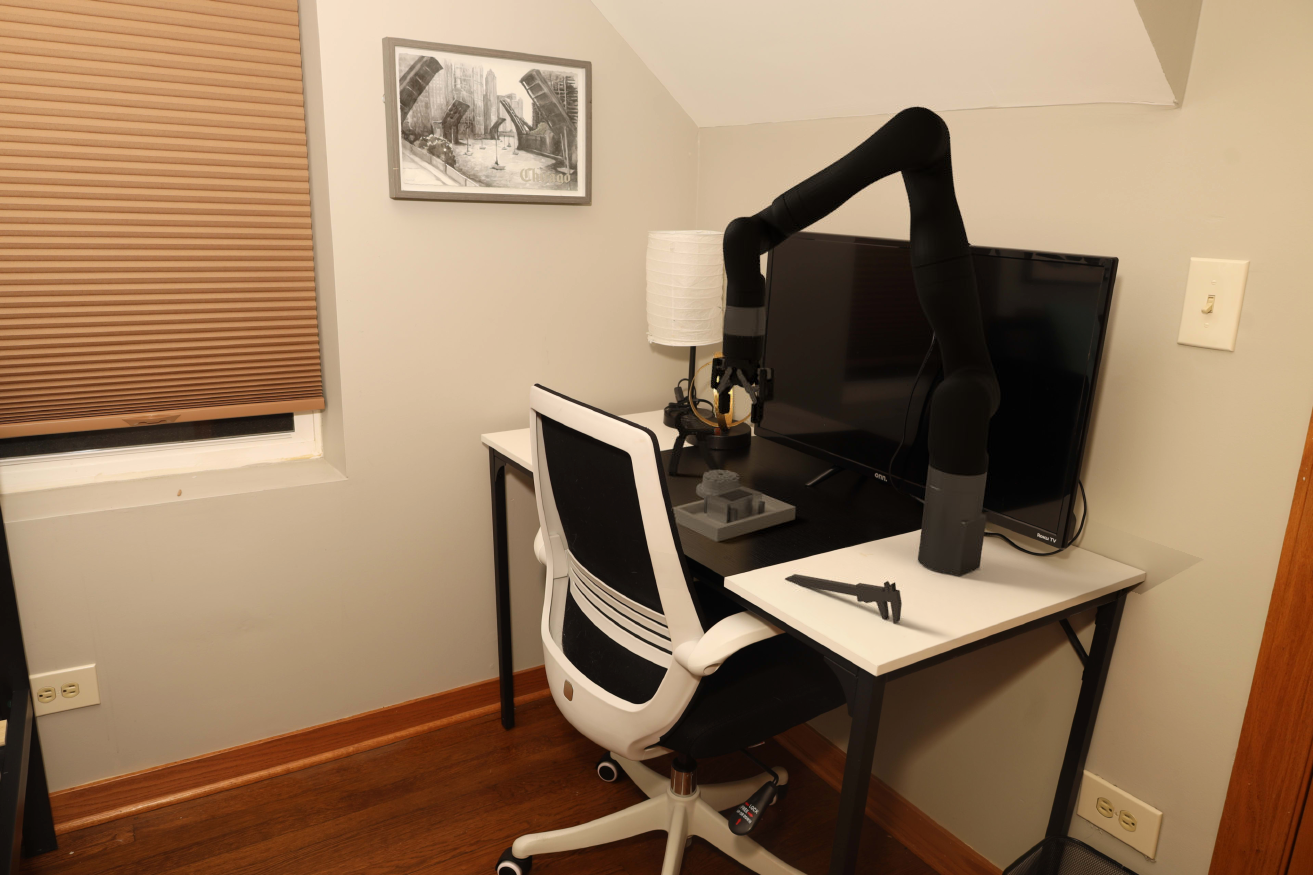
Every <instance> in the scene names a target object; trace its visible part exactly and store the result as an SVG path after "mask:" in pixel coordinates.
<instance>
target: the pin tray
mask: <svg viewBox="0 0 1313 875" xmlns="http://www.w3.org/2000/svg"><path fill="white" fill-rule="evenodd" d="M707 498H708V497H704V498H703V499H701V500H697V501H693V502H689V503H685V504H682V505H678V506H674V507H672V508H673V509H674V513H675V517H676V522H675V523H677V524H678V525H681V526H683V527H685V528H687V529H689V530H692V531H694V532H696V533H698V534H700V535H702V536H704V537H705V538H708V539H710V540H712V541H714V542H716V541H717V542H720V541H721V542H722V541H725V540H728V539H733V538H735V537H739V536H742V535H746V534H749V533H752V532H755V531H759V530H762V529H766V528H769V527H770V528H771V527H774V526H776V525H780V524H782V523H783V524H784V523H787V522H790V521H794V520H796V508H797V507H796V506H794V505H791V504H789V503H788V502H787V503H786V502H783V501H781V500H779V499H776V498H774V497H771V496H768V495H766V494H764V493H762V501H759V505H758V514H756V515H753V516H750V517H747V518H744V519H741V520H738V521H737V518H738V509H736V508H732V509H731V523H727V524H723V523H720V522H718V521H715V520H713V519H710V518H707ZM717 542H716V543H717Z"/></svg>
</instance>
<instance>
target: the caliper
mask: <svg viewBox="0 0 1313 875" xmlns="http://www.w3.org/2000/svg"><path fill="white" fill-rule="evenodd" d="M784 580H785V581H789V582H791V583H792V584H794V585H797V586H800V587H804V588H805V587H806V588H811V589H816V590H821V591H828V592H833V593H837V594H842V595H849V596H853V597H856V600H857V602H859V603H862V602H864V603H865V604H870V603H876V606H877V608H878V612H879V614H880V616H881V619H882V620H884V621H886V620H887V621H888V619H890V615H889V614H890V611H889V604H888V603H890V608H891V615H892V624H897V622H900V621H901V615H902V614H901V613H902V606H903V603H902V596H901V591H900V589H897V586H896V581H894V582H892V583H890V581H888V580H886V581H885V582H883V586H880V585H876V584H875V585H874V584H869V583H863V582H858V583H857V584H853V583H847V582H843V581H836V580H830V579H825V578H820V577H814V576H810V575H809V576H807V575H803V574H796V573H794V574H791V575H789V576H787V577H785V578H784Z"/></svg>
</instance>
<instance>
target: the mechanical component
mask: <svg viewBox="0 0 1313 875" xmlns="http://www.w3.org/2000/svg"><path fill="white" fill-rule="evenodd" d="M742 486H743V485H742V484H740V475H739V474H738V473H736V472H735V471H730V470H728V469H726V470H724V469H723V470H711V469H709V471H704V474H702V482H701V483H699V484H697V486H696V490H695V494H696V495H697V496H699V497H700V498H702V499H704V497H710V496H713V495H716V494H720V493H723V492H726V491H729V490H733V489H736V488H739V487H742Z"/></svg>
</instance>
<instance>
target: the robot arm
mask: <svg viewBox="0 0 1313 875" xmlns="http://www.w3.org/2000/svg"><path fill="white" fill-rule="evenodd" d="M949 130H950V129H949V126H948V125H947V123H946V121H945V120H944V119H943V118H942V117H941V116H940V115H939V114H937V113H936V112H935V111H933V110H932V109H929V108H926V107H925V106H910V107H908V108H904V109H902V110H901V111H899V112H897V114H895V115H894V116H892V117H891V119H889V120H887V122H885V123H884V124H883V125H882V126H881V127H879V128H878V129H877V130H876V131H875V132H874V133H873V134H871V135H870V136H869V137H868V138H867V139H865V140H864V141H862V142H861V143H860V144H859V145H858V146H856V147H855V148H853V149H852V150H851V151H849V152H848V153H846V154H845V155H843V156H842V157H841V158H839V159H837V160H836V161H834V162H833V163H831V164H829V165H828V166H826V167H824V168H823V169H821V170H819V171H818V172H816V173H814V174H813V175H811V176H809V177H808V178H806V179H804V180H803V181H801V182H799V183H798V184H796V185H794V186H792V187H791V188H789V189H787V190H786V191H784V192H783V193H781V194H780V195H778V196H777V197H775V198H774V199H773V200H772V202H771V204H770V205H769V206H766V207H765V208H764V209H762V210H760V211H759V212H757V213H755V214H753V215H751V216H740V217H736V218H734V219H732V220H731V221H730V222H729V223H728V224H727V226H726V228H725V230H724V233H723V238H722V255H723V262H724V263H723V264H724V271H725V274H726V289H725V290H726V292H725V295H726V296H725V307H724V308H725V309H724V314H723V326H722V330H723V331H722V350H721V353H722V356H717V357H714V358H712V362H711V363H712V364H711V375H710V388H711V389H712V390H715V391H716V392H717V395H718V401H717V402H718V404H717V407H718V408H717V409H718V413H719V414H721V415H726V414H729V413H730V411H731V399H732V398H731V397H732V394H731V393H730V392H731V391H732V389H733V388H734V387H735V386H738V387H740V388H742V389H744V391H745V393H746V394H748V395H749V398H750V400H751V402H752V403H750V424H753V425H755V424H760V423H762V422H763V419H764V412H765V410H764V409H765V404H766V403H767V402H771V401H774V396H775V395H774V394H775V393H774V391H775V390H774V389H775V384H774V383H775V369H774V367H762V365H761V359H762V358H764V355H765V341H766V324H767V323H766V320H767V319H766V318H767V316H766V296H767V294H766V291H767V282H766V276H765V275H763V273H762V272H761V270H762V269H761V268H762V267H761V256H763V255H765V254H766V253H768V252H770V251H771V250H773V249H775V248H777V247H779V245H780V244H782V243H783V242H785V241H786V240H788V239H789V238H791V236H793V235H795V234H797V233H800V232H801V231H803V230H805V229H806V228H808V227H810V226H812V225H814V224H815V223H817V222H818V221H820V220H823V219H824V218H826V217H827V216H829V215H831V214H832V213H834V212H835V211H837V209H839V208H840V207H841V206H843V205H844V204H845V203H846V202H847V201H849V200H850V199H851V198H853V197H855V195H857V194H858V193H860V192H861V191H863V190H864V189H865V188H867V187H869V186H871V185H873V184H875V183H877V182H878V181H880V180H882V179H884V178H887V177H890V176H891V175H892V176H893V175H895V174H897V173H899V172H900V173H901V177H902V180H903V183H904V188H905V192H906V196H907V201H908V204H909V206H908V207H909V216H910V217H909V256H910V258H909V259H910V264H911V269H912V275H913V280H914V285H915V290H916V293H917V297H918V301H919V304H920V306H921V309H922V311H923V312H924V315H925V317H926V319H927V321H928V323H929V324H930V327H931V329H932V331H933V333H934V335H935V337H936V340H937V342H938V343H937V344H938V346H939V350H940V354H941V361H942V367H943V380H942V381H941V382H940V383H939V384H938V385H937V387H935V388H936V389H935V390H934V393H933V395H932V399H931V400H932V401H931V404H930V412H929V421H928V423H929V424H928V436H927V449H928V454H929V460H928V467H927V468H928V469H927V475H926V476H927V477H926V483H925V484H926V485H925V494H924V495H925V496H924V503H923V512H922V513H923V514H922V520H921V527H920V528H921V529H920V537H919V546H918V554H917V561H918V562H919V564H921V566H923V567H925V568H927V569H929V570H931V571H935V572H938V573H943V574H950V575H951V574H952V575H955V576H957V577H960V576H964V575H966V574H968V573H970V572H973V571H975V570H978V569H980V567H981V559H982V554H983V546H984V539H985V531H986V524H987V515H986V514H983V505H984V504H983V503H984V500H985V499H984V497H985V489H986V482H987V477H988V476H987V475H988V468H989V461H990V460H989V459H990V456H989V454H988V452H987V450H988V449H987V444H988V435H989V427H990V420H991V418H992V417H993V416H994V415H995V414H996V412H997V411H998V409H999V406H1000V403H1001V395H1002V394H1001V389H1000V385H999V381H998V379H997V374H996V372H995V369H994V366H993V362H992V359H991V356H990V352H989V350H988V345H987V343H986V342H987V341H986V338H985V334H984V327H983V319H982V310H981V304H980V297H979V291H978V285H977V278H976V272H975V268H974V267H975V266H974V262H973V257H972V252H971V246H970V244H969V243H970V242H969V239H968V236H967V231H966V227H965V224H964V219H963V216H962V212H961V210H960V206H959V203H958V199H957V195H956V189H955V183H954V173H953V172H954V171H953V162H952V161H953V160H952V145H951V134H950V131H949Z"/></svg>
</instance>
